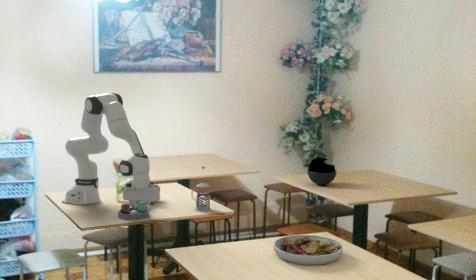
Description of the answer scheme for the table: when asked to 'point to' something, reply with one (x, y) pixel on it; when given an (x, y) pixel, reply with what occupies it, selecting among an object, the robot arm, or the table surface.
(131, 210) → the groove tray
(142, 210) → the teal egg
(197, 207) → the french press
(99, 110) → the robot arm
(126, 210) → the walnut bead
